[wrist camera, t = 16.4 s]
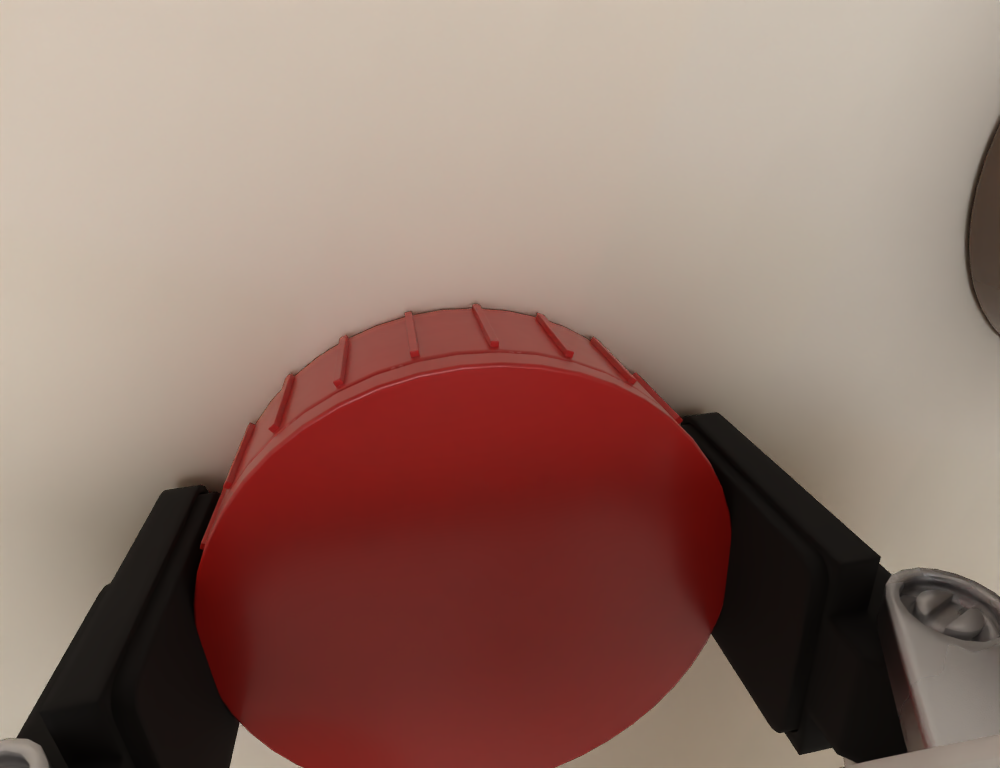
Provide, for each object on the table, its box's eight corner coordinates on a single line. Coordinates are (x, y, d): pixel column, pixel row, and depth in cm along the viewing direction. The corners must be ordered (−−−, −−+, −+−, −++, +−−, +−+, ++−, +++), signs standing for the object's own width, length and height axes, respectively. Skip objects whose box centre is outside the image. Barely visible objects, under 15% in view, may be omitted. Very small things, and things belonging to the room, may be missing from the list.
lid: (169, 334, 9) (103, 405, 7) (683, 277, 10) (766, 323, 8) (281, 711, 12) (260, 841, 10) (660, 638, 13) (715, 740, 11)
